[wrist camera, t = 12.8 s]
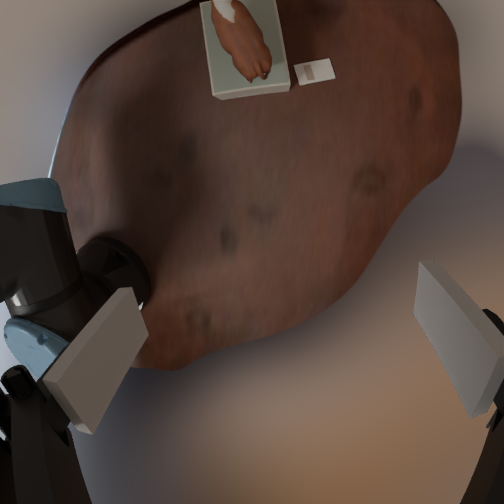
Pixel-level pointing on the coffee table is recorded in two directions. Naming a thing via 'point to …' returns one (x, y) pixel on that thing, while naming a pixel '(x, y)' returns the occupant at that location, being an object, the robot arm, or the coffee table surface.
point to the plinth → (220, 62)
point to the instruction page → (314, 71)
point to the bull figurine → (241, 38)
